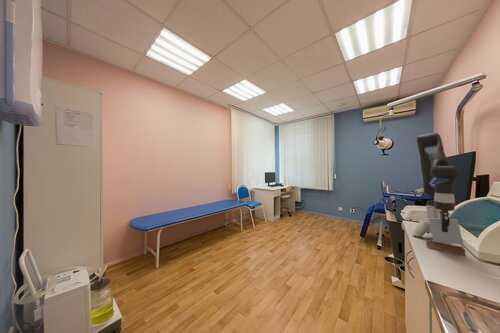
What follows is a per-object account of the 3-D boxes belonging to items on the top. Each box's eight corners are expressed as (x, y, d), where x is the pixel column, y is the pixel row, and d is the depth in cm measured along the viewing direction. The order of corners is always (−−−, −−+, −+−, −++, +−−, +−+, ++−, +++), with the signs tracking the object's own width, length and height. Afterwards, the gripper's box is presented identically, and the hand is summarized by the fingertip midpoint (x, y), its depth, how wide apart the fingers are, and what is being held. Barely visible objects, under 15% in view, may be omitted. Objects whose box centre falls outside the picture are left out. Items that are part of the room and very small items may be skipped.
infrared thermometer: (446, 233, 109) (427, 221, 109) (434, 248, 110) (415, 236, 110) (438, 230, 114) (420, 218, 113) (427, 244, 115) (409, 232, 114)
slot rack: (426, 244, 101) (426, 239, 101) (463, 252, 92) (463, 246, 92) (426, 247, 98) (426, 242, 98) (465, 255, 88) (465, 250, 88)
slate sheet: (432, 240, 99) (428, 217, 100) (462, 243, 91) (457, 219, 92) (433, 241, 97) (428, 218, 98) (463, 244, 90) (458, 220, 91)
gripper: (432, 198, 102) (433, 226, 102) (435, 202, 92) (436, 233, 92) (451, 199, 97) (452, 229, 97) (457, 204, 87) (457, 237, 87)
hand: (444, 231), depth 95 cm, fingers closed on slate sheet
